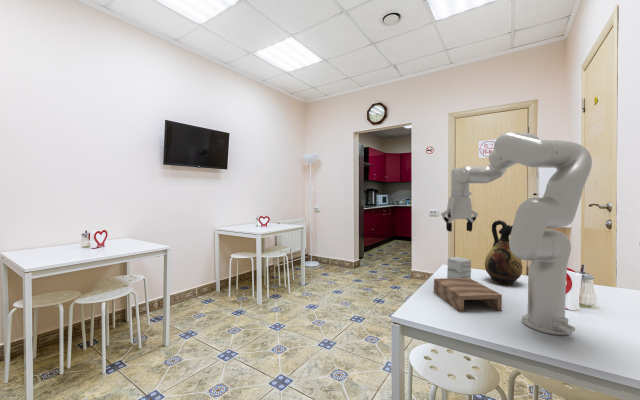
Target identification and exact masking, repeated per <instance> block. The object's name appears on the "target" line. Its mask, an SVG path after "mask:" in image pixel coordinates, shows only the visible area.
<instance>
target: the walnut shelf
mask: <svg viewBox="0 0 640 400" xmlns="http://www.w3.org/2000/svg"><path fill="white" fill-rule="evenodd" d="M433 293H434V294H436V296H438V297H439V298H440V299H442V300H443V301H444V302H446V303H448V304H449V305H450V306H451V307H453V308H454V309H455V310H457V311H458V312H459V313H464V312H465V301H467V300H479V301H481V302H482V303H484V304H486V305H487V306H489V307H490V308H492V309H494V310H496V311H497V312H501V311H502V309H503V308H502V307H503V295H502V294H501V293H499V292H498V291H495V290H494V289H491V288H490V287H487V286H486V285H484V284H482V283H479V282H478V281H476V280H474V279H472V278H471V279H470V278H433Z"/></svg>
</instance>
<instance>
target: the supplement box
mask: <svg viewBox="0 0 640 400" xmlns="http://www.w3.org/2000/svg"><path fill="white" fill-rule="evenodd" d="M446 272H447V278H470V279H472V277H471V276H472V260H470V259H467V258H465V257H464V258H463V257H460V256H455V257H448V258H447V271H446Z"/></svg>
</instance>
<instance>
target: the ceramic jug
mask: <svg viewBox="0 0 640 400" xmlns="http://www.w3.org/2000/svg"><path fill="white" fill-rule="evenodd" d="M499 225H501V226H502V227H501V228H500V229H499V230H498V231H497V226H499ZM512 227H513V224H512V225H510V224H507V223H506V221H503V220H500V219H499V220H495V221H494V222H492V224H491V232H492V237H493V244H492V247H491V248H490V250H489V251H488V253H487V255H486V258H485V261H484V268H485V271H486V273H487V274H488V276H489V277H490V281H492V283H496V284H497V285H500V284H501V286H513V285H514V283H515V282H516V281H517V280H519V278H520V277H521V275H522V273H523V263H522V260H521V259H518V258H517V257H515V256H514V255H513V254H512V252H511V250H510V247H509V240H510V235H511V231H512ZM498 234H499V235H500V237H499V236H498Z"/></svg>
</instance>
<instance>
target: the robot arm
mask: <svg viewBox="0 0 640 400" xmlns="http://www.w3.org/2000/svg"><path fill="white" fill-rule="evenodd" d="M488 162H489V164H487V165H486V166H483V165H480V166H478V165H477V166H476V165H471V166H470V165H467V166H463V167H456V168H453V169H452V170H451V174H450V176H451V177H450V181H451V184H450V197H448V201H447V206H446V210H445V211H443V212H441V213H440V215H441V217H442V220H443V221H444V222H445V225H446V226H445V229H446V231H447V232H453V222H452V221H453V220H466V221H467V222H466V231H468V232H473V231H472V230H473V224H474V222H475V221H476V220H477V218H478V216H479V213H478V212H476V211H475V210H473V206H472V200H471V197H470V196H471V195H472V192H471V191H470V184H488V183H491V182H493V181H495V180H498V179H499V178H501V177H503V176H504V175H505V173H506V171H507V169H509V168H511V167H512V166H515V165H517V164H519V165H522V166H525V167H529V168H547V169H549V168H551V169H552V168H553V169H556V171H555V172H554V173H553V174H552V175H551V177H550V178H549V179H548V181H547V184H546V187H545V191H544V194H543V196H542V197H532V198H528V199H525V200H523V202H522V203H520V204H519V206H518V207H517V209H516V212H515V214H514V220H513V224H512V225H513V227H512V231H511V235H509V247H510V250H511V252H512V254H513V255H514V256H515V257H517V258H518V259H521V261H530V264H529V266H528V277H527V281H528V283H527V314H523V315H522V316H521V321H522V323H523V324H525V326H526V327H528V328H531V329H533V330H536V331H538V332H540V333H545V334H549V335H550V334H551V335H557V336H567V335H572V334H573V332H575V331H576V327H575V326H572V325H571V324H569V318H568V317H566V297H567V296H566V295H567V294H566V293H567V292H566V291H567V289H566V287H567V271H568V263H569V259H570V257H571V256H570V255H571V252H572V251H571V250H572V244H571V241H570V239H569V238H568V236H567V235H566V234H565V233H563V232H562V231H559V230H555V229H556V228H557V229H558V228H566V227H568V226H570V225H571V224H572V223H573V221H574V220H575V217H576V213H577V212H578V207H579V204H580V203H581V202H580V201H581V198H582V195H583V191H584V188H585V185H586V183H587V180H588V177H589V176H590V173H591V170H592V166H593V159H592V155H591V153H590V151H588V149H587V148H586V147H584V146H583V145H582V144H579V143H577V142H574V141H568V140H556V139H555V140H553V139H540V138H539V136H537V135H536V134H532V133H529V132H515V131H513V132H509V131H508V132H505V133H502V134H500V135H499V136H498V137H497V138H496V140H495V141H494V144H493V150H492V151H490V152H489V154H488Z"/></svg>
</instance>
